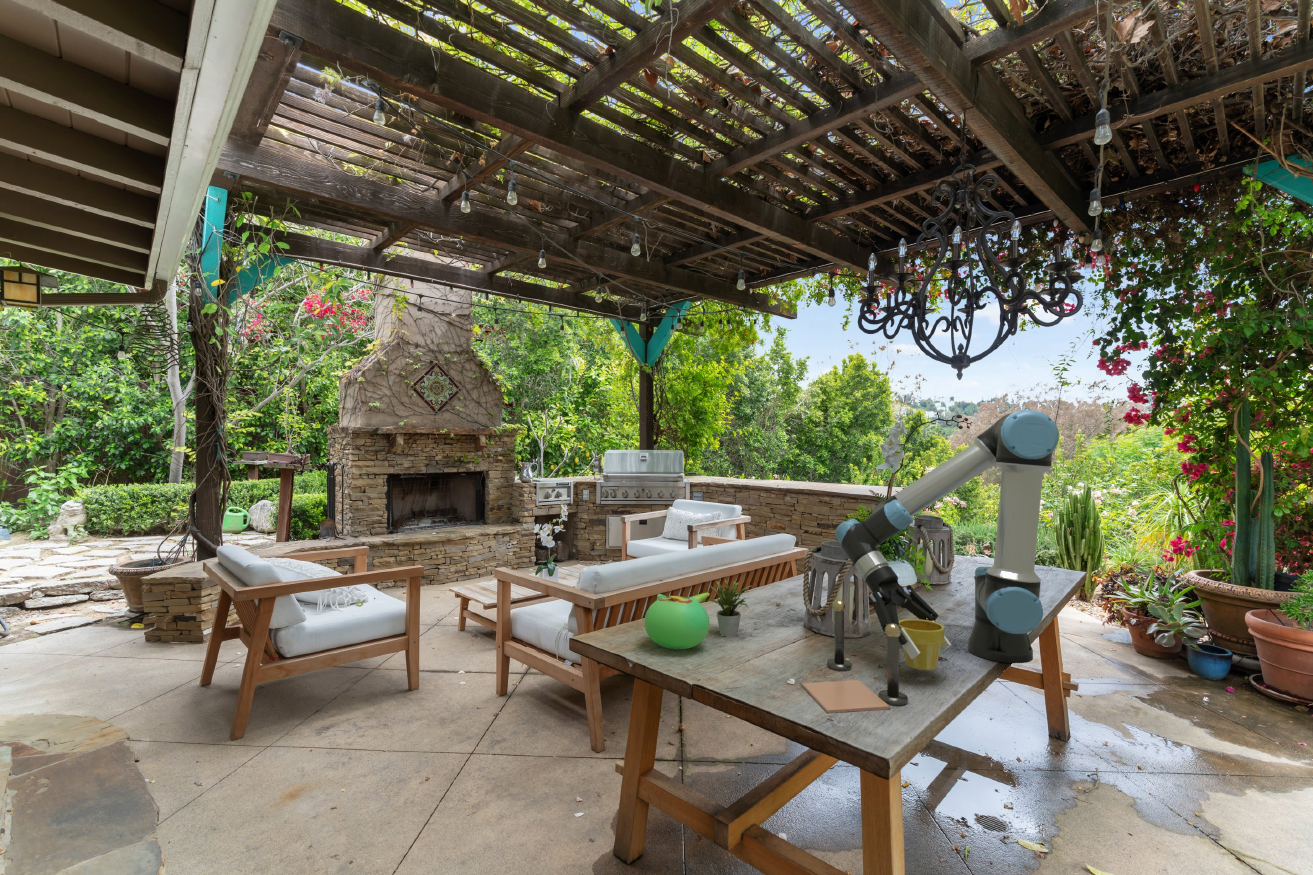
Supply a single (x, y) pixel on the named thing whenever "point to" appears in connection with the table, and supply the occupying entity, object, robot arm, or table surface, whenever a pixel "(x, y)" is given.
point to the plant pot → (923, 642)
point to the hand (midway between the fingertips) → (931, 651)
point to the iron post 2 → (893, 669)
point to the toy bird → (677, 621)
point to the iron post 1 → (839, 639)
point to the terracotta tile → (844, 696)
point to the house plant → (729, 609)
